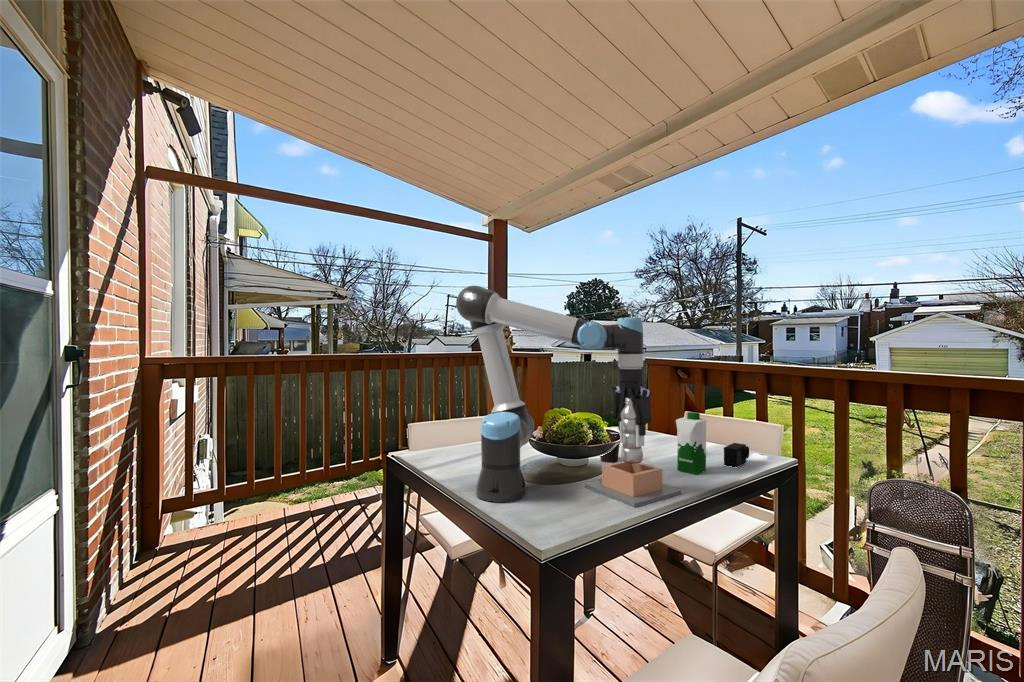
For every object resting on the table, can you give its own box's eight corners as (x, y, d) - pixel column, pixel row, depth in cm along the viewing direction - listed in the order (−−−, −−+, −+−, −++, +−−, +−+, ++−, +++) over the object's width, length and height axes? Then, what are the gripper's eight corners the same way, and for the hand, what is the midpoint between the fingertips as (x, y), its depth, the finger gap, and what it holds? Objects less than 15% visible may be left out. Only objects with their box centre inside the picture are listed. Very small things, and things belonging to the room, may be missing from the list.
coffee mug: (615, 464, 158) (614, 437, 158) (593, 461, 163) (593, 434, 163) (627, 458, 167) (627, 432, 167) (606, 454, 172) (606, 430, 172)
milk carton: (709, 470, 150) (708, 413, 150) (698, 476, 144) (697, 416, 144) (685, 465, 156) (684, 410, 156) (673, 470, 150) (672, 413, 150)
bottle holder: (634, 507, 116) (634, 481, 116) (584, 487, 133) (584, 464, 133) (681, 493, 127) (681, 470, 127) (630, 476, 144) (629, 455, 144)
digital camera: (740, 469, 152) (739, 449, 152) (723, 466, 155) (723, 447, 156) (749, 463, 159) (749, 444, 159) (734, 460, 163) (734, 442, 163)
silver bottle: (645, 461, 131) (644, 396, 132) (640, 467, 125) (639, 399, 126) (624, 459, 135) (623, 395, 135) (618, 464, 129) (617, 398, 129)
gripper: (664, 368, 124) (665, 448, 124) (616, 366, 140) (617, 437, 140) (646, 369, 120) (648, 452, 120) (600, 367, 136) (601, 440, 136)
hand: (631, 444), depth 130 cm, fingers closed on silver bottle, 6 cm apart
